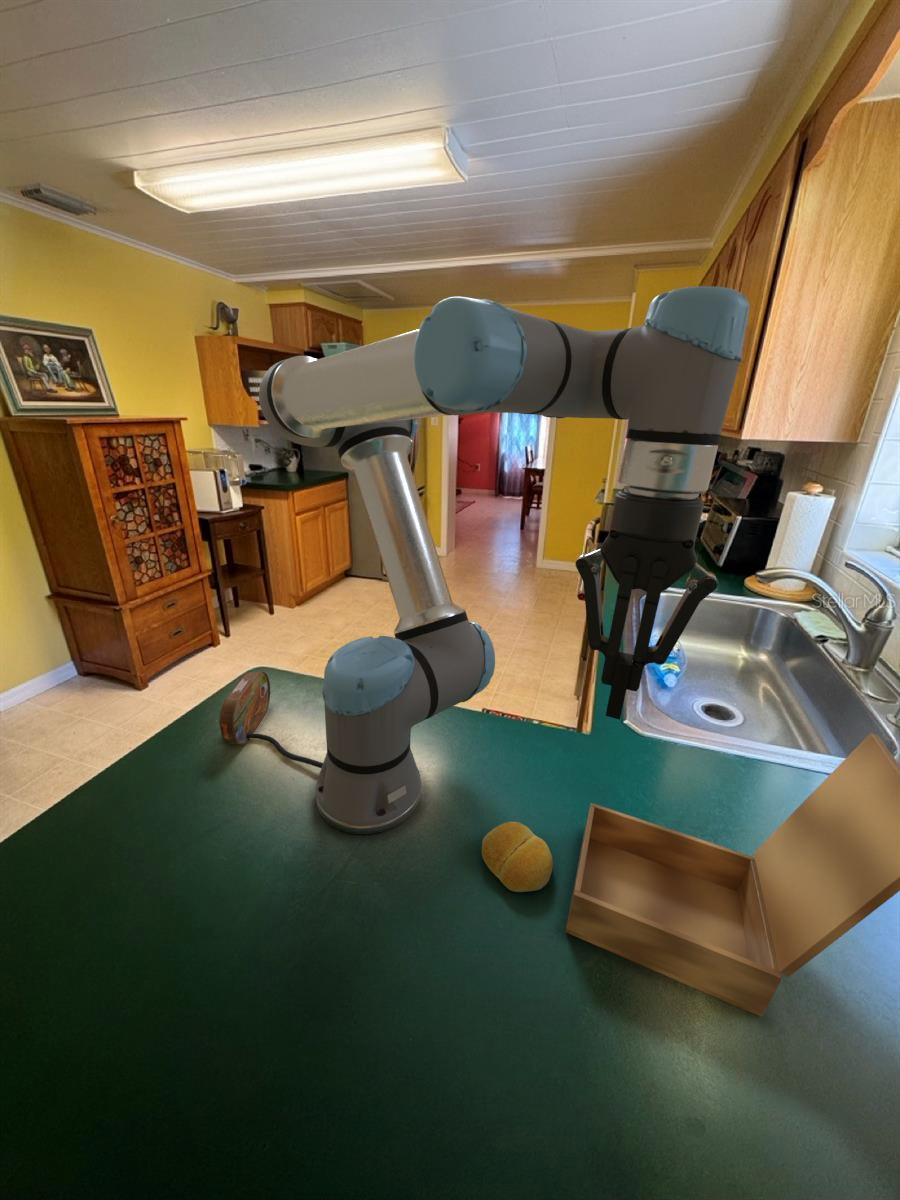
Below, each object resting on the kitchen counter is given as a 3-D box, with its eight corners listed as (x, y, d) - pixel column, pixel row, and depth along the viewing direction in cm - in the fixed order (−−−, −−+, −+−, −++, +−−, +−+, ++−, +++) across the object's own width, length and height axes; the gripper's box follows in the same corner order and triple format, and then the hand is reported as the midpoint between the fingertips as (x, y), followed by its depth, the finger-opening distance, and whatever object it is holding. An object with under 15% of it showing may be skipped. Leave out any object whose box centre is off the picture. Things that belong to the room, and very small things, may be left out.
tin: (239, 755, 75) (233, 711, 72) (219, 754, 75) (212, 710, 72) (273, 701, 89) (269, 663, 86) (256, 700, 89) (252, 662, 86)
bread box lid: (945, 840, 35) (1026, 881, 34) (870, 732, 47) (928, 758, 46) (779, 972, 44) (838, 1008, 42) (753, 852, 56) (798, 877, 55)
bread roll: (523, 909, 55) (527, 885, 53) (470, 856, 61) (473, 833, 59) (566, 870, 60) (571, 847, 58) (513, 824, 66) (517, 802, 64)
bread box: (565, 932, 52) (573, 894, 50) (583, 836, 65) (590, 802, 62) (762, 1017, 46) (782, 978, 44) (740, 892, 58) (755, 857, 56)
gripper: (580, 488, 42) (547, 712, 50) (747, 506, 37) (679, 749, 46) (592, 480, 48) (561, 680, 57) (736, 494, 44) (678, 710, 52)
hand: (614, 711), depth 51 cm, fingers closed
